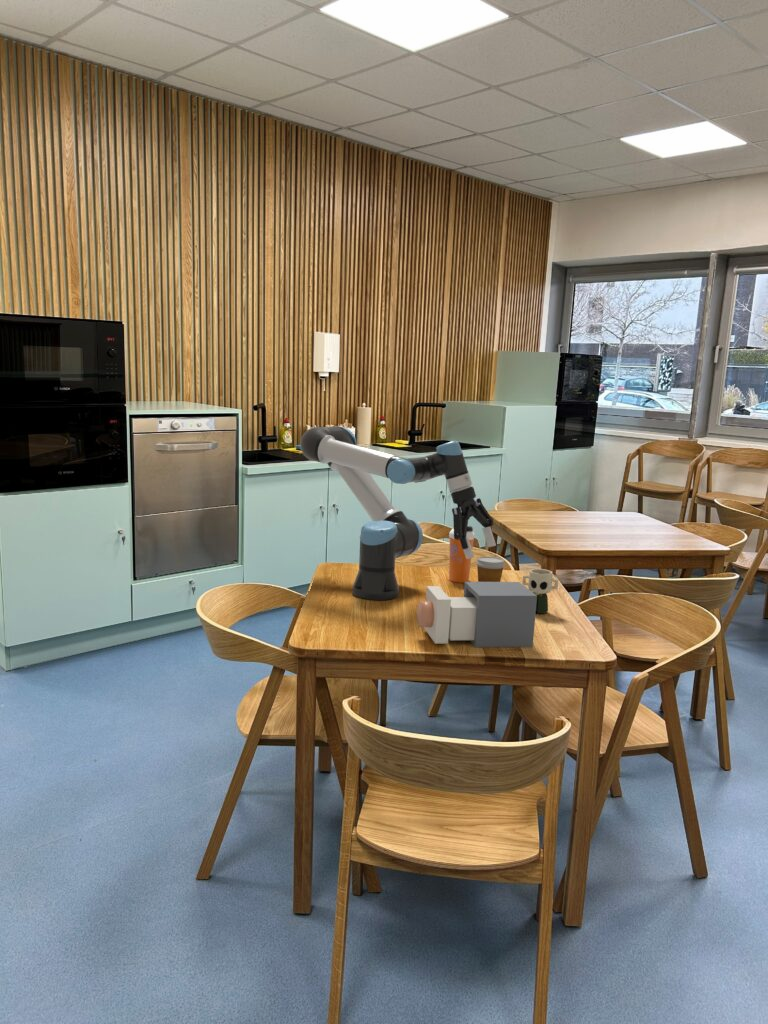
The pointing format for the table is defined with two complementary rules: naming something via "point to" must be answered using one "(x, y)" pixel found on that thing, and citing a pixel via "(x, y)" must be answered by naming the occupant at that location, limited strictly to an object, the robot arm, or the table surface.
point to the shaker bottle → (459, 558)
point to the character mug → (540, 586)
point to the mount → (503, 614)
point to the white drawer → (447, 616)
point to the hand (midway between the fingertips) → (481, 552)
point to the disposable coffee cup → (489, 569)
